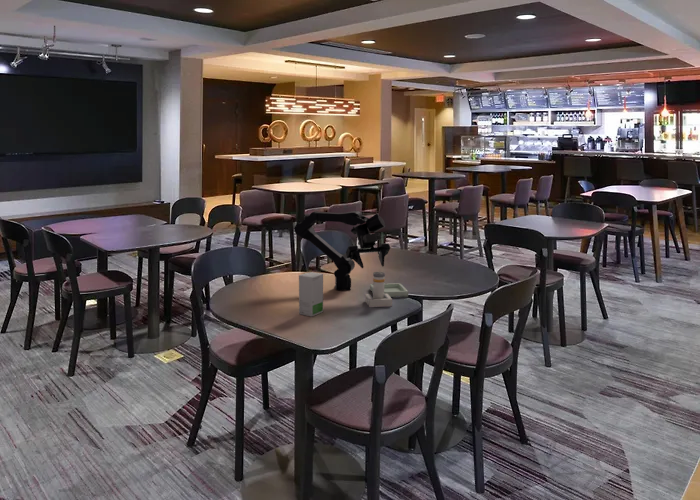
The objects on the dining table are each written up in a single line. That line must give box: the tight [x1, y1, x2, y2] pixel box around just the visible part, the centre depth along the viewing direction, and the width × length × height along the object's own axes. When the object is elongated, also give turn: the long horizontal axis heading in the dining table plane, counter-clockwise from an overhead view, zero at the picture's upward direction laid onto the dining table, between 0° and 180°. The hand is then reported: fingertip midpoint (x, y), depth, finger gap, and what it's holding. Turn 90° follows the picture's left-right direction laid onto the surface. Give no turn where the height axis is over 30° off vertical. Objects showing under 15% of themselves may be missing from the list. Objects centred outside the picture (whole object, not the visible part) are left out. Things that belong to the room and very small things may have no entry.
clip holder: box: [364, 293, 393, 308], centre depth 240 cm, size 9×8×3 cm
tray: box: [369, 282, 409, 298], centre depth 256 cm, size 14×14×2 cm
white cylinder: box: [372, 271, 386, 299], centre depth 239 cm, size 5×5×13 cm
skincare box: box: [298, 271, 324, 317], centre depth 225 cm, size 8×7×16 cm
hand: (373, 266), depth 245 cm, fingers open, 9 cm apart
